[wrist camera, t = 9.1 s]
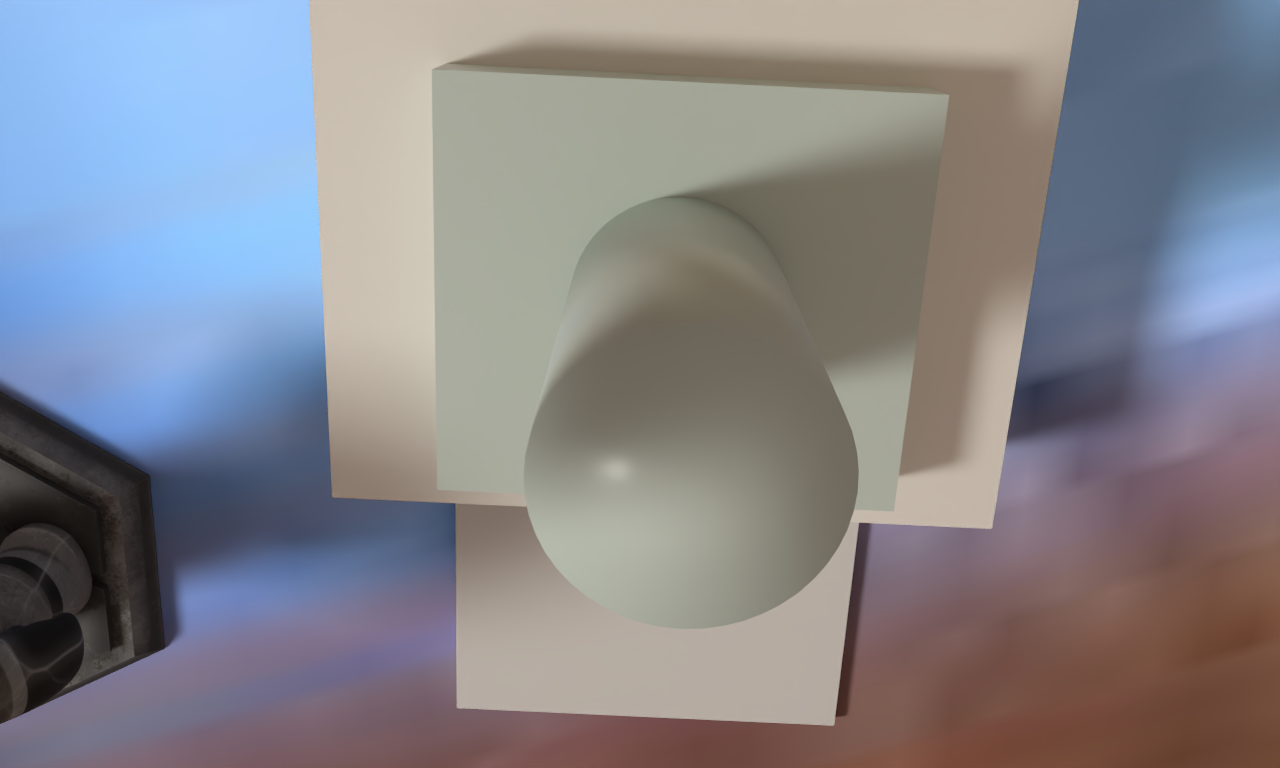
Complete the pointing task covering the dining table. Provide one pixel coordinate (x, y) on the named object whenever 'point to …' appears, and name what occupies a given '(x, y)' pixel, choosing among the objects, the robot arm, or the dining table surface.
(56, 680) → the figurine
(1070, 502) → the dining table surface
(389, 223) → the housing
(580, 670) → the pad
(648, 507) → the cover
